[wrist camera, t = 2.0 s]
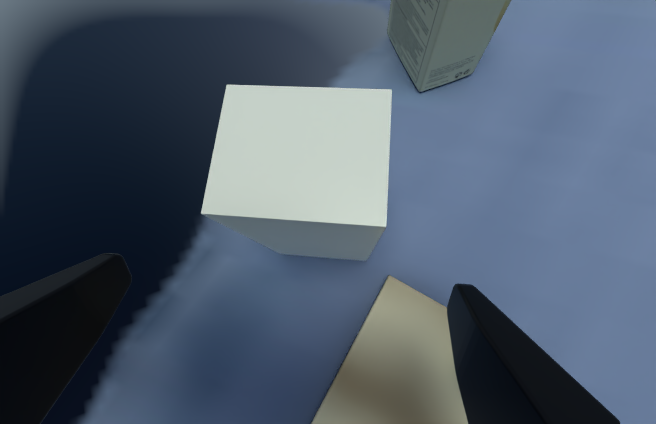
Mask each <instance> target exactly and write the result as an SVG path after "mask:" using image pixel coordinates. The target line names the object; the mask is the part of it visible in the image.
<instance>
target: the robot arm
mask: <svg viewBox="0 0 656 424" xmlns="http://www.w3.org/2000/svg"><path fill="white" fill-rule="evenodd" d="M131 281H132V276H131V274H130V272H129V269H128V267H127V264H126V262H125V260H124V258H123V257H122V256H121V255H119V254H110V253H105V254H102V255H99V256H97V257H95V258H92V259H90V260H88V261H85V262H82V263H80V264H78V265H75V266H73V267H70V268H68V269H66V270H63V271H61V272H59V273H56V274H54V275H52V276H49V277H46V278H44V279H42V280H39V281H37V282H35V283H32V284H30V285H28V286H25V287H23V288H20V289H18V290H15V291H13V292H11V293H8V294H6V295H3V296H1V297H0V424H40V423H41V422H42V421H43V419H44V418H45V416H46V415H47V413H48V412H49V410H50V409H51V407H52V406H53V405H54V403H55V402H56V400H57V399H58V397H59V396H60V394H61V393H62V392H63V390H64V389H65V387H66V386H67V384H68V383H69V382H70V380H71V379H72V377H73V376H74V374H75V373H76V371H77V370H78V368H79V367H80V366H81V364H82V363H83V361H84V360H85V358H86V357H87V356H88V354H89V353H90V351H91V350H92V348H93V347H94V345H95V344H96V343H97V341H98V339H99V338H100V336H101V335H102V333H103V332H104V330H105V328H106V327H107V325H108V323H109V322H110V320H111V318H112V316H113V314H114V313H115V311H116V309H117V307H118V306H119V304H120V302H121V300H122V299H123V297H124V295H125V293H126V292H127V290H128V288H129V286H130V284H131ZM447 318H448V325H449V332H450V339H451V346H452V353H453V359H454V366H455V372H456V377H457V382H458V386H459V390H460V394H461V398H462V401H463V405H464V409H465V413H466V417H467V421H468V424H620V421H619V420H618V419H617V418H616V417H615V416H614V415H613V414H612V413H611V412H609V411H608V410H607V409H606V408H605V407H604V406H603V405H602V404H601V403H600V402H599V401H598V400H597V399H595V398H594V397H593V396H592V395H591V394H590V393H589V392H588V391H587V390H586V389H585V388H584V387H582V386H581V385H580V384H579V383H578V382H577V381H576V380H575V379H574V378H573V377H572V376H571V375H570V374H568V373H567V372H566V371H565V370H564V369H563V368H562V367H561V366H560V365H559V364H558V363H557V362H556V361H554V360H553V359H552V358H551V357H550V356H549V355H548V354H547V353H546V352H545V351H544V350H543V349H542V348H540V347H539V346H538V345H537V344H536V343H535V342H534V341H533V340H532V339H531V338H530V337H529V336H527V335H526V334H525V333H524V332H523V331H522V330H521V329H520V328H519V327H518V326H517V325H516V324H515V323H513V322H512V321H511V320H510V319H509V318H508V317H507V316H506V315H505V314H504V313H503V312H502V311H501V310H499V309H498V308H497V307H496V306H495V305H494V304H493V303H492V302H491V301H490V300H489V299H488V298H487V297H485V296H484V295H483V294H482V293H481V292H480V291H479V290H478V289H477V288H476V287H474V286H473V285H470V284H455V285H454V287H453V290H452V293H451V296H450V299H449V303H448V306H447Z"/></svg>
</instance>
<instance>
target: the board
mask: <svg viewBox="0 0 656 424" xmlns="http://www.w3.org/2000/svg"><path fill="white" fill-rule="evenodd" d="M311 424H468V421H467V417H466V413H465V409H464V405H463V401H462V398H461V394H460V390H459V386H458V382H457V377H456V372H455V366H454V359H453V353H452V346H451V339H450V332H449V325H448V318H447V307H445V306H443V305H441V304H439V303H438V302H436V301H434V300H432V299H431V298H429V297H427V296H425V295H424V294H422V293H420V292H418V291H416V290H415V289H413V288H411V287H409V286H408V285H406V284H404V283H402V282H401V281H399V280H397V279H395V278H393V277H392V276H390V275H389V276H388V277H387V279H386V281H385V283H384V285H383V287H382V289H381V290H380V292H379V294H378V296H377V298H376V300H375V302H374V304H373V306H372V308H371V310H370V312H369V313H368V315H367V317H366V319H365V321H364V323H363V325H362V327H361V329H360V331H359V333H358V335H357V336H356V338H355V340H354V342H353V344H352V346H351V348H350V350H349V352H348V354H347V356H346V357H345V359H344V361H343V363H342V365H341V367H340V369H339V371H338V373H337V375H336V377H335V379H334V380H333V382H332V384H331V386H330V388H329V390H328V392H327V394H326V396H325V398H324V400H323V402H322V403H321V405H320V407H319V409H318V411H317V413H316V415H315V417H314V419H313V421H312V423H311Z"/></svg>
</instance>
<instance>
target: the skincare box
mask: <svg viewBox="0 0 656 424" xmlns="http://www.w3.org/2000/svg"><path fill="white" fill-rule="evenodd" d="M510 2H511V0H391V4H390V13H389V21H388V29H387V34H388V36H389V38H390V40H391V42H392V44H393V46H394V48H395V50H396V52H397V54H398V55H399V57H400V59H401V61H402V63H403V65H404V67H405V68H406V70H407V72H408V74H409V75H410V77H411V79H412V81H413V82H414V84H415V86H416V87H417V89H418V91H419V92H422V91H425V90H428V89H431V88H434V87H437V86H440V85H443V84H446V83H449V82H452V81H455V80H457V79H460V78H462V77H465V76H467V75H470V74H472V73H473V72H474V70H475V68H476V66H477V64H478V62H479V61H480V59H481V57H482V55H483V53H484V51H485V49H486V47H487V46H488V44H489V42H490V40H491V38H492V36H493V34H494V32H495V30H496V28H497V26H498V25H499V23H500V20H501V19H502V17H503V15H504V13H505V11H506V9H507V7H508V6H509V4H510Z"/></svg>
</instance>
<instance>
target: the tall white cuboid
mask: <svg viewBox="0 0 656 424" xmlns="http://www.w3.org/2000/svg"><path fill="white" fill-rule="evenodd" d="M391 100H392V90H389V89H355V88H321V87H286V86H252V85H251V86H250V85H227V87H226V92H225V96H224V101H223V106H222V111H221V117H220V121H219V126H218V131H217V136H216V141H215V146H214V151H213V156H212V161H211V166H210V171H209V176H208V182H207V186H206V191H205V196H204V201H203V206H202V211H201V214H203V215H205V216H207V217H209V218H211V219H212V220H214V221H216V222H218V223H220V224H222V225H224V226H226V227H228V228H230V229H232V230H234V231H236V232H238V233H240V234H242V235H244V236H246V237H248V238H250V239H252V240H254V241H256V242H258V243H259V244H261V245H263V246H265V247H267V248H269V249H271V250H273V251H275V252H277V253H279V254H284V255H296V256H309V257H321V258H333V259H345V260H357V261H367V260H368V258H369V256H370V254H371V253H372V251H373V249H374V247H375V246H376V244H377V242H378V240H379V239H380V237H381V235H382V233H383V232H384V230H385V228H386V222H387V197H388V173H389V149H390V124H391Z"/></svg>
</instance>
